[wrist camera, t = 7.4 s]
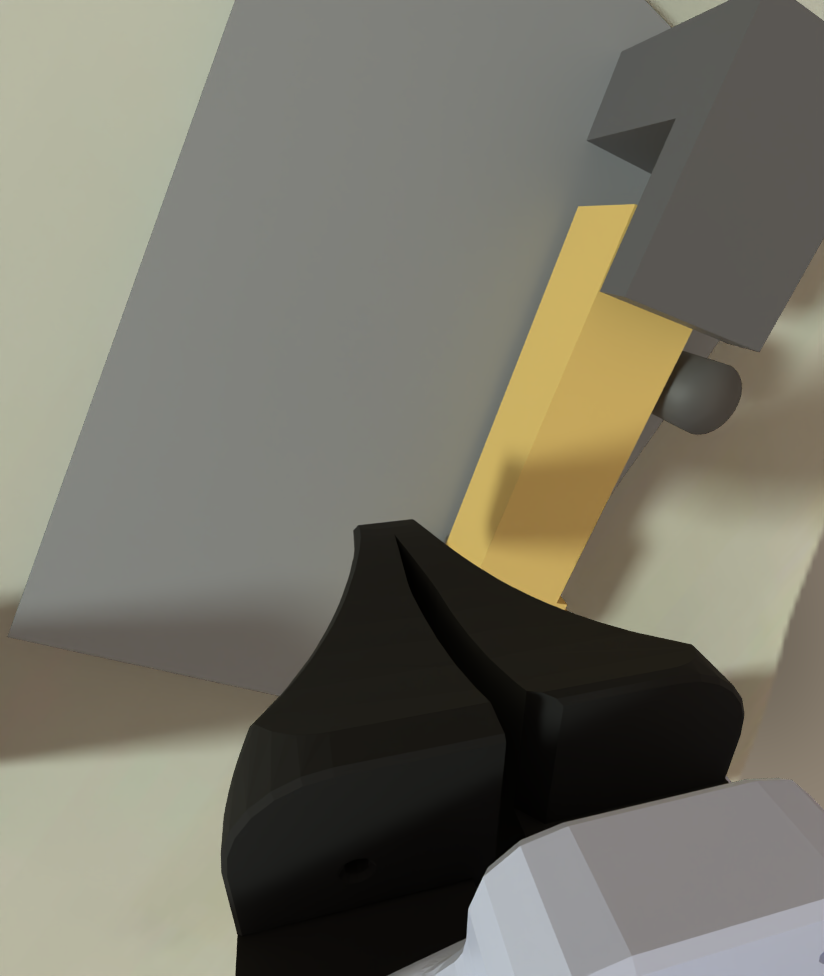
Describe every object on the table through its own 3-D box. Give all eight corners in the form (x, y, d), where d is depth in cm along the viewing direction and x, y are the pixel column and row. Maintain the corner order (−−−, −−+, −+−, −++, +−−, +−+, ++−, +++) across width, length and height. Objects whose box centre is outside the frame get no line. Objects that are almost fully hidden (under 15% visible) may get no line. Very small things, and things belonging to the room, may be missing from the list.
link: (495, 665, 21) (522, 718, 19) (378, 654, 20) (392, 710, 17) (689, 255, 16) (759, 261, 14) (549, 193, 14) (602, 189, 12)
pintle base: (798, 189, 17) (1008, 177, 12) (437, 712, 24) (481, 841, 19) (339, -267, 11) (396, -663, 6) (20, 615, 17) (-77, 770, 13)
